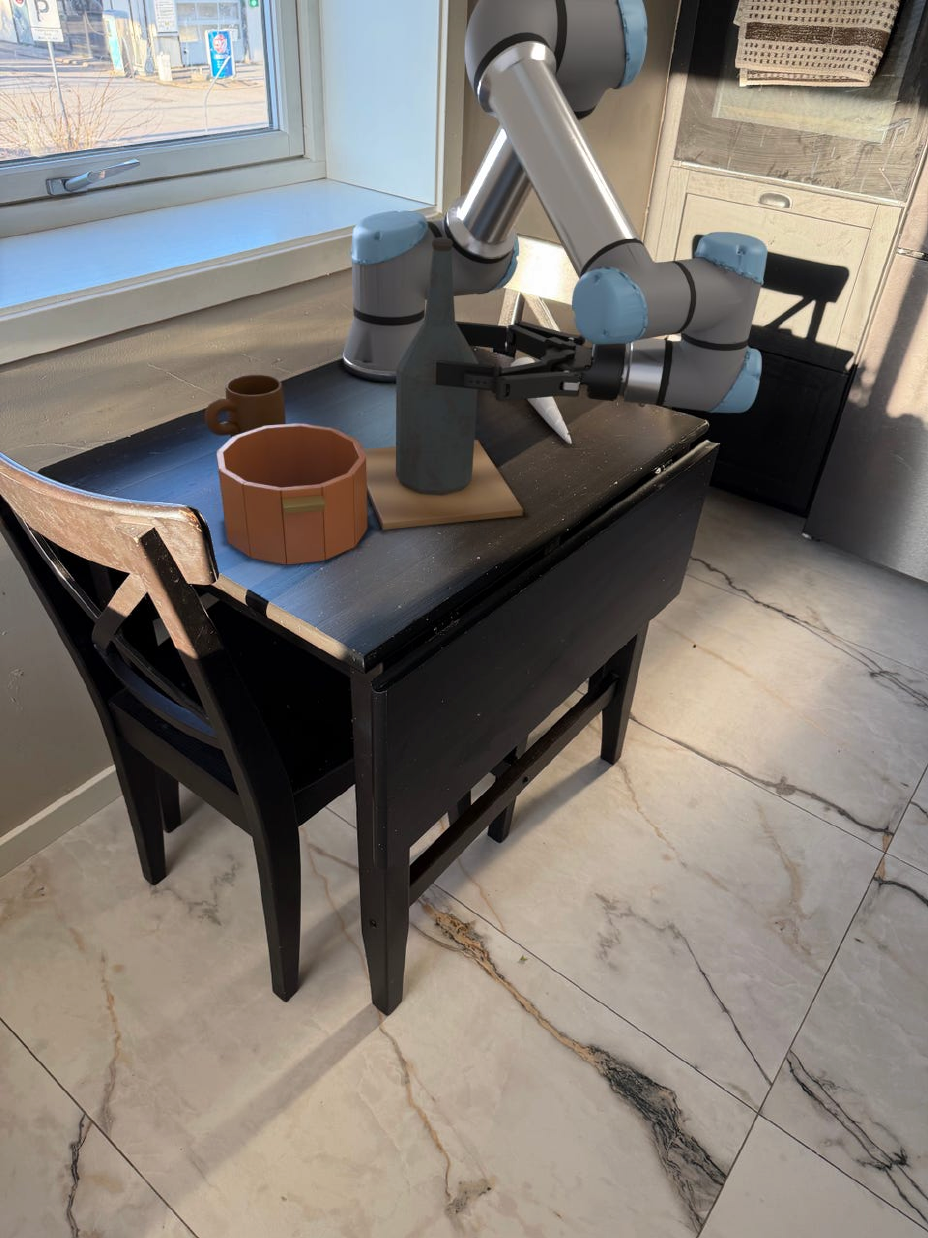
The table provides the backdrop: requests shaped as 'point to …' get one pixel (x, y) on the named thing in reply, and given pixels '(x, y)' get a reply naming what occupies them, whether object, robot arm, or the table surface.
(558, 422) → the unicorn horn
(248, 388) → the mug
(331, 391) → the table surface
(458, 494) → the wooden board
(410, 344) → the bottle
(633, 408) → the table surface
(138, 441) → the table surface
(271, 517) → the ice bucket
